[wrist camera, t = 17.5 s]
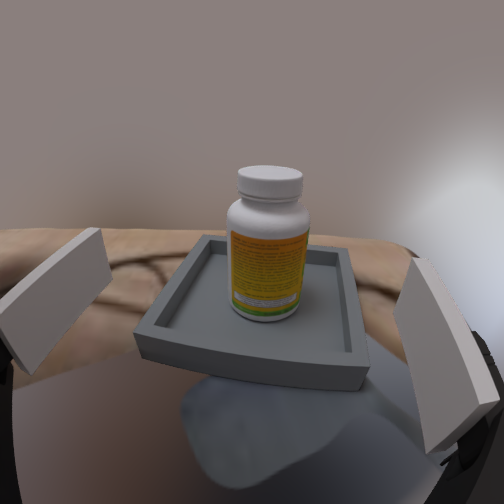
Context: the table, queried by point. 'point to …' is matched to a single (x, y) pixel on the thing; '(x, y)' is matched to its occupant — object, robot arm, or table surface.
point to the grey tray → (259, 325)
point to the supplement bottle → (267, 243)
